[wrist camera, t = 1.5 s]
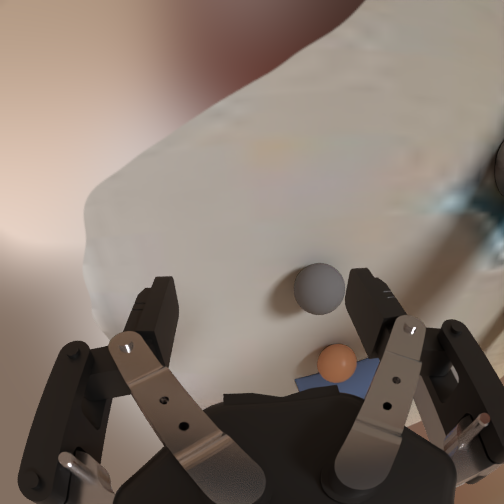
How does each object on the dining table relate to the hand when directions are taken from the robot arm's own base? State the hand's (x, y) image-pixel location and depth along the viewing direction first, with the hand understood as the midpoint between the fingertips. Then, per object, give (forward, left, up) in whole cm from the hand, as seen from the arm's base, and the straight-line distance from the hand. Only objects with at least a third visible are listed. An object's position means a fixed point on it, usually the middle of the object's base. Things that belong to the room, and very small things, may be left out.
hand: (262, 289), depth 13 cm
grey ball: (-3, +13, -15) cm, 20 cm away
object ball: (-3, +27, -15) cm, 31 cm away
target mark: (-3, +39, -17) cm, 42 cm away
